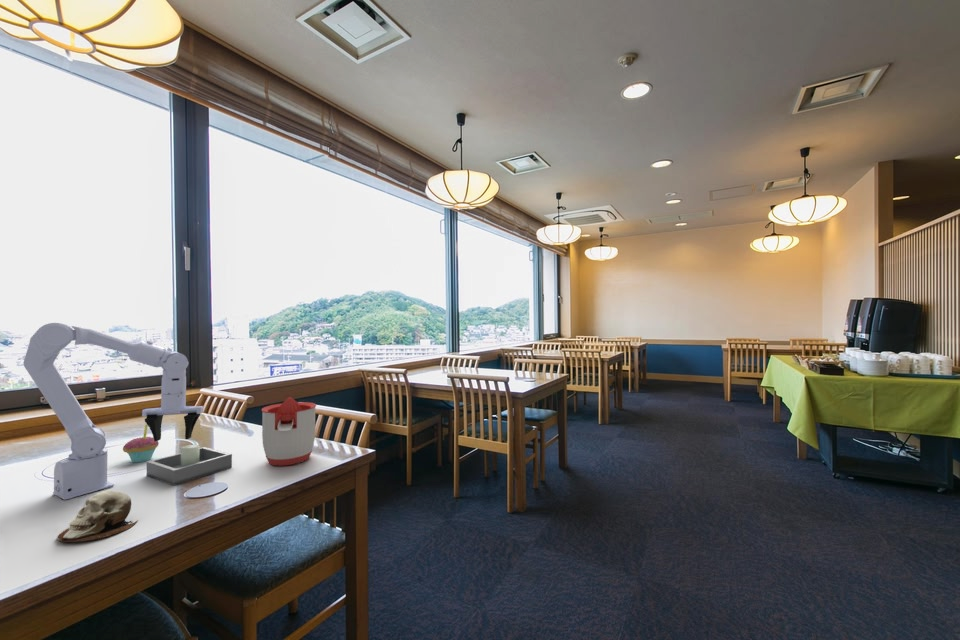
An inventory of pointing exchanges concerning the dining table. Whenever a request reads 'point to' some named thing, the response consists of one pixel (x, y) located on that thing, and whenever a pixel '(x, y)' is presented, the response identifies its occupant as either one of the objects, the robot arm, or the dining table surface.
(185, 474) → the bin
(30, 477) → the dining table surface
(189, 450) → the white pillar candle
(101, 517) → the skull
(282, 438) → the citrus juicer
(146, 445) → the cupcake
